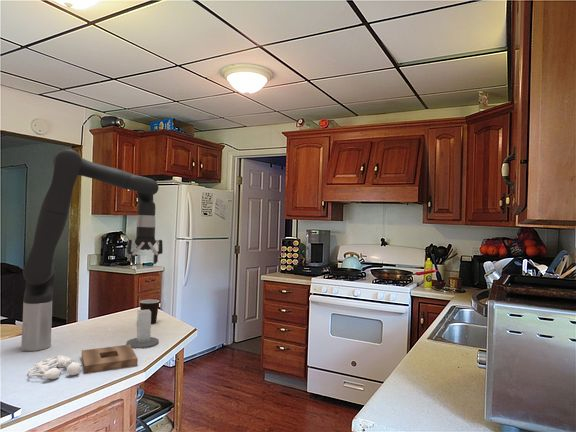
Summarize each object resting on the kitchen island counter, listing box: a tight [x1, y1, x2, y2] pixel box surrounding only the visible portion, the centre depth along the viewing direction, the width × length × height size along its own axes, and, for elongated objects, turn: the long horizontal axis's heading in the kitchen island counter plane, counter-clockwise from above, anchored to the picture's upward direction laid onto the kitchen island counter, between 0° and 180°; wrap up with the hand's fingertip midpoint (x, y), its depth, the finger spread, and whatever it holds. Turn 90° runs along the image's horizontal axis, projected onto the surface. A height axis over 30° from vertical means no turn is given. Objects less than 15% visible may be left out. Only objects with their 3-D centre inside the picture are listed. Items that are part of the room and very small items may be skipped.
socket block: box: [80, 344, 139, 374], centre depth 139 cm, size 16×16×2 cm
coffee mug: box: [139, 299, 160, 325], centre depth 190 cm, size 12×9×10 cm
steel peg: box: [136, 309, 152, 344], centre depth 159 cm, size 4×4×12 cm
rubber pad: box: [126, 336, 160, 349], centre depth 159 cm, size 12×12×1 cm
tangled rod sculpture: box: [27, 354, 83, 380], centre depth 130 cm, size 19×14×4 cm
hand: (144, 264), depth 171 cm, fingers open, 8 cm apart
